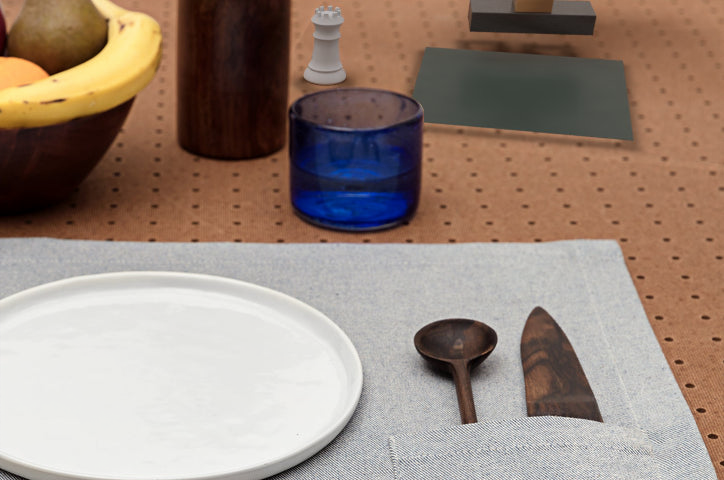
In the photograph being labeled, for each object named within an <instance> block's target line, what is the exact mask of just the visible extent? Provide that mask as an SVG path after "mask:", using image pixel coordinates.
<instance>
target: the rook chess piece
mask: <svg viewBox="0 0 724 480" xmlns="http://www.w3.org/2000/svg"><path fill="white" fill-rule="evenodd" d="M333 8H334V9H333ZM310 21H311V23H312V24H313V25H314V28H315V29H314V31H313V33H312V36H313V38H314V40H313V48H312V55H311V59H310V61H308V64H307V67H306V68H305V69H304V72H303V75H302V76H303V77H304V80H305V81H307V82H308V83H310V84H313V85H317V86H333V85H337V84H341V83H343V82H344V81H345V80H346V78H347V72H346V70H345V69H344V68H343V63H342V61H341V57H340V38H342V34H341V32H340V27H341V26H342V25H343V23H344V22H345V18H344V16H343V15H342V9H341V8H340V7H339V6H335V7H334V5H327V9H326V10H325V6H324V5H322V6H318V7H316V8H315V9H314V14H313V15H312V17H311V19H310Z"/></svg>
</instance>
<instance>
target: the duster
mask: <svg viewBox="0 0 724 480" xmlns="http://www.w3.org/2000/svg"><path fill="white" fill-rule="evenodd" d="M467 11H468V12H467V21H468V22H467V23H468V29H469V32H470V33H498V34H526V35H527V34H528V35H530V34H531V35H561V36H563V35H564V36H593V35H594V32H595V27H596V21H597V14H596V12H595V9H594V7H593V5H592V3H591V1H590V0H469V3H468V10H467Z"/></svg>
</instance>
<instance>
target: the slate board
mask: <svg viewBox="0 0 724 480" xmlns="http://www.w3.org/2000/svg"><path fill="white" fill-rule="evenodd" d="M625 74H626V73H625V66H624V60H618V59H605V58H590V57H576V56H575V57H574V56H565V55H564V56H561V55H560V56H559V55H551V54H550V55H548V54H534V53H522V52H521V53H520V52H519V53H518V52H505V51H494V50H493V51H492V50H491V51H490V50H479V49H478V50H477V49H464V48H448V47H437V46H436V47H435V46H425V48H424V52H423V55H422V59H421V63H420V66H419V69H418V73H417V77H416V80H415V84H414V88H413V91H412V95H411V98H413V99H415V100H416V101H418V102H419V103H420V104H421V105H422V107H423V109H424V122H422V124H423V123H426V124H435V125H447V126H448V125H449V126H459V127H471V128H481V129H482V128H483V129H494V130H504V131H505V130H506V131H518V132H529V133H530V132H531V133H541V134H552V135H563V136H572V137H573V136H575V137H585V138H586V137H587V138H599V139H609V140H619V141H621V140H622V141H633V142H634V133H633V126H632V119H631V111H630V103H629V96H628V87H627V82H626V81H627V80H626V75H625Z"/></svg>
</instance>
